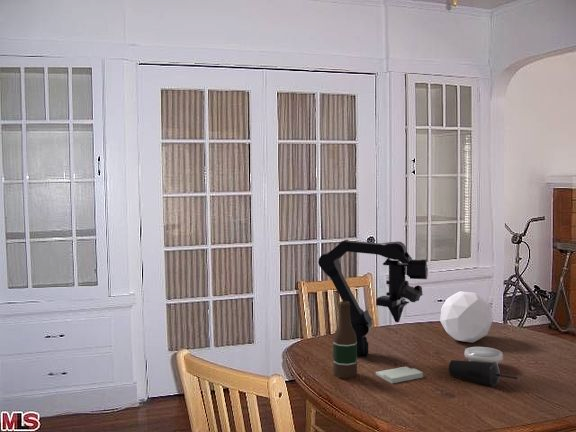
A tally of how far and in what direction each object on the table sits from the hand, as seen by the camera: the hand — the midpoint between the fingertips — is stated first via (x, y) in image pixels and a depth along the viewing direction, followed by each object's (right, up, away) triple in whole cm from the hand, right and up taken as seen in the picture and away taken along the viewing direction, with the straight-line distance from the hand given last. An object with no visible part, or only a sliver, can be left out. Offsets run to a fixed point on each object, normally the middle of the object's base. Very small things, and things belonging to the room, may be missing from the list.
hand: (397, 322), depth 197 cm
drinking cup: (+14, -11, -17) cm, 25 cm away
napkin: (-3, -14, -16) cm, 22 cm away
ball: (+31, -11, +21) cm, 39 cm away
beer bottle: (-20, -15, -15) cm, 28 cm away
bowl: (+27, -13, -9) cm, 31 cm away
